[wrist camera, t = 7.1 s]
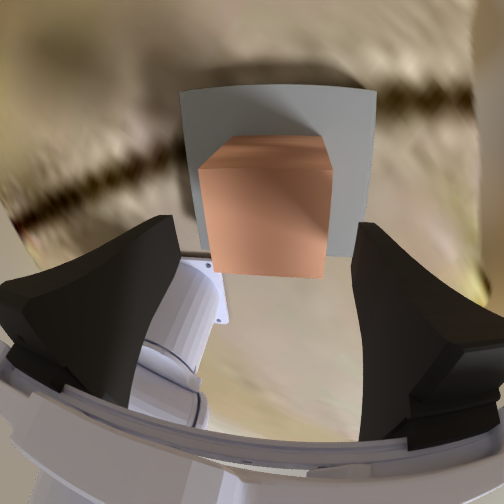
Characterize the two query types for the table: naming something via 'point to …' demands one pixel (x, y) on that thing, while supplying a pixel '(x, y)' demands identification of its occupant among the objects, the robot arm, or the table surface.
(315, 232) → the terracotta cube
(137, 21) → the table surface
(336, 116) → the gray plinth
